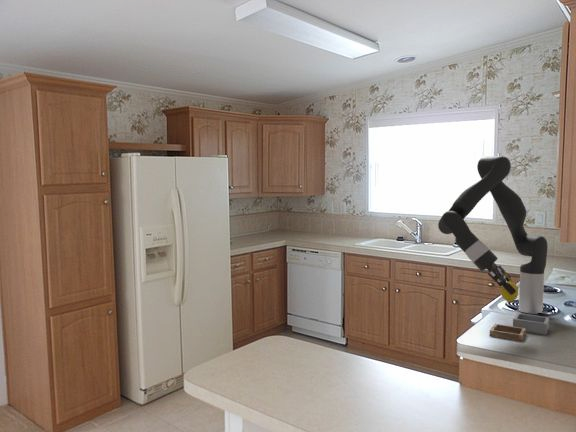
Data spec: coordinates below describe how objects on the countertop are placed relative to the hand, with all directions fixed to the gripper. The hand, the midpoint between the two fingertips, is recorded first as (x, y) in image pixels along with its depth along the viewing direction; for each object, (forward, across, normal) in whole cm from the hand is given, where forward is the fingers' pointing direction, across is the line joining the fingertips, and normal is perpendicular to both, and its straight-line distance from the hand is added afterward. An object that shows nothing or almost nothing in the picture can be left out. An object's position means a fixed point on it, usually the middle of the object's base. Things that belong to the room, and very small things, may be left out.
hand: (515, 291), depth 163 cm
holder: (+14, +14, +8) cm, 21 cm away
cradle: (+10, 0, +12) cm, 16 cm away
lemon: (+2, 0, +4) cm, 5 cm away
